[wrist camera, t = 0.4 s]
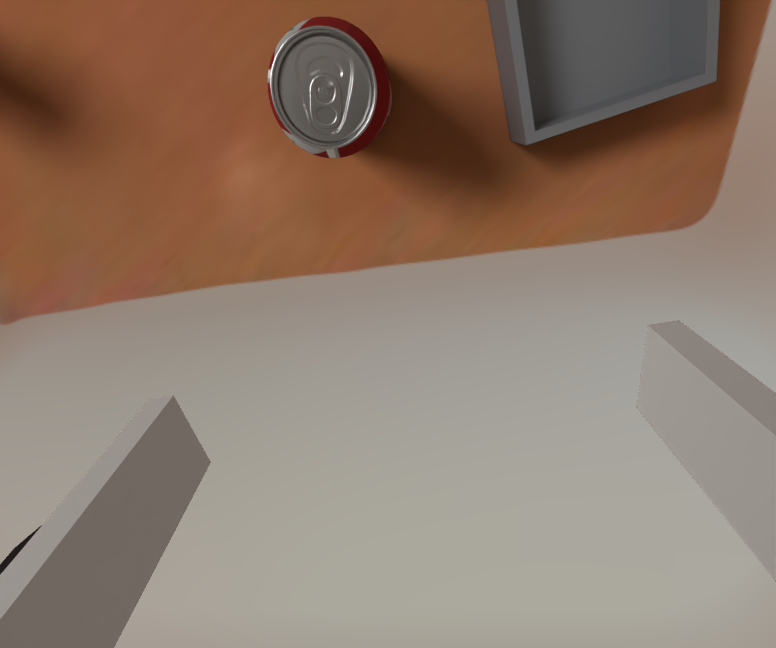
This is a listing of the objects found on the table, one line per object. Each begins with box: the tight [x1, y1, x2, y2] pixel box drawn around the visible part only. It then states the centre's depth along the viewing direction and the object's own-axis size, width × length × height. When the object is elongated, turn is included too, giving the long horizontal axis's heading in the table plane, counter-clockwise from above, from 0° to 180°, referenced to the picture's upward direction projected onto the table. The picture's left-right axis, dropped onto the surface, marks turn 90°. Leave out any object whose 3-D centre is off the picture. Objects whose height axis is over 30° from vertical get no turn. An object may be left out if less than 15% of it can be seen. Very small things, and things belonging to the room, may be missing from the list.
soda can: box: [268, 17, 392, 158], centre depth 26 cm, size 7×7×12 cm
